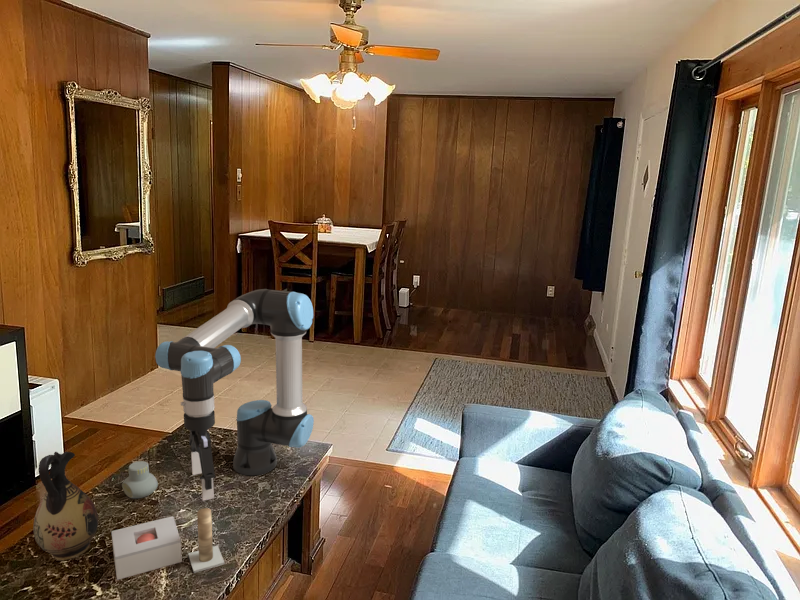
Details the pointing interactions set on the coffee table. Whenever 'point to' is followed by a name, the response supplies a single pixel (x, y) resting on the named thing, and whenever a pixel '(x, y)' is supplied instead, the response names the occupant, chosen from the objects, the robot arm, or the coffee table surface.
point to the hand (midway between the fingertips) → (202, 485)
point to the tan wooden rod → (205, 534)
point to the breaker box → (146, 547)
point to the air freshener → (139, 481)
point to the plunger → (145, 538)
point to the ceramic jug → (63, 512)
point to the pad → (201, 566)
